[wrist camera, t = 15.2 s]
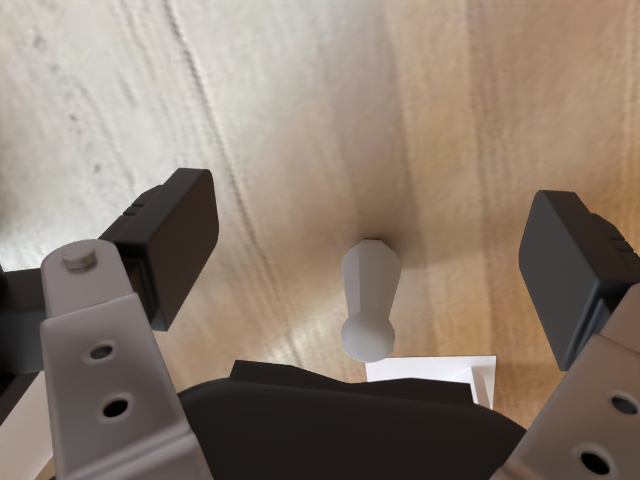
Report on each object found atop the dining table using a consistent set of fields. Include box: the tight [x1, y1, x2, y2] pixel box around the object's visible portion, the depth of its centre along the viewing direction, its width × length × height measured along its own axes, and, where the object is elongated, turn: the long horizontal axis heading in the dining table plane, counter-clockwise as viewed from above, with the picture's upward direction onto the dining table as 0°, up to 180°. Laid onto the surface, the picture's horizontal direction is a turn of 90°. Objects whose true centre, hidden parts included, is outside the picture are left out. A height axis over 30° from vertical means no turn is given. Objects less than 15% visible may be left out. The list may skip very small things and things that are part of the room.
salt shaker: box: [341, 239, 402, 363], centre depth 42 cm, size 6×6×13 cm
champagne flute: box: [0, 371, 53, 480], centre depth 44 cm, size 7×7×24 cm
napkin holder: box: [365, 356, 496, 410], centre depth 54 cm, size 15×11×6 cm
